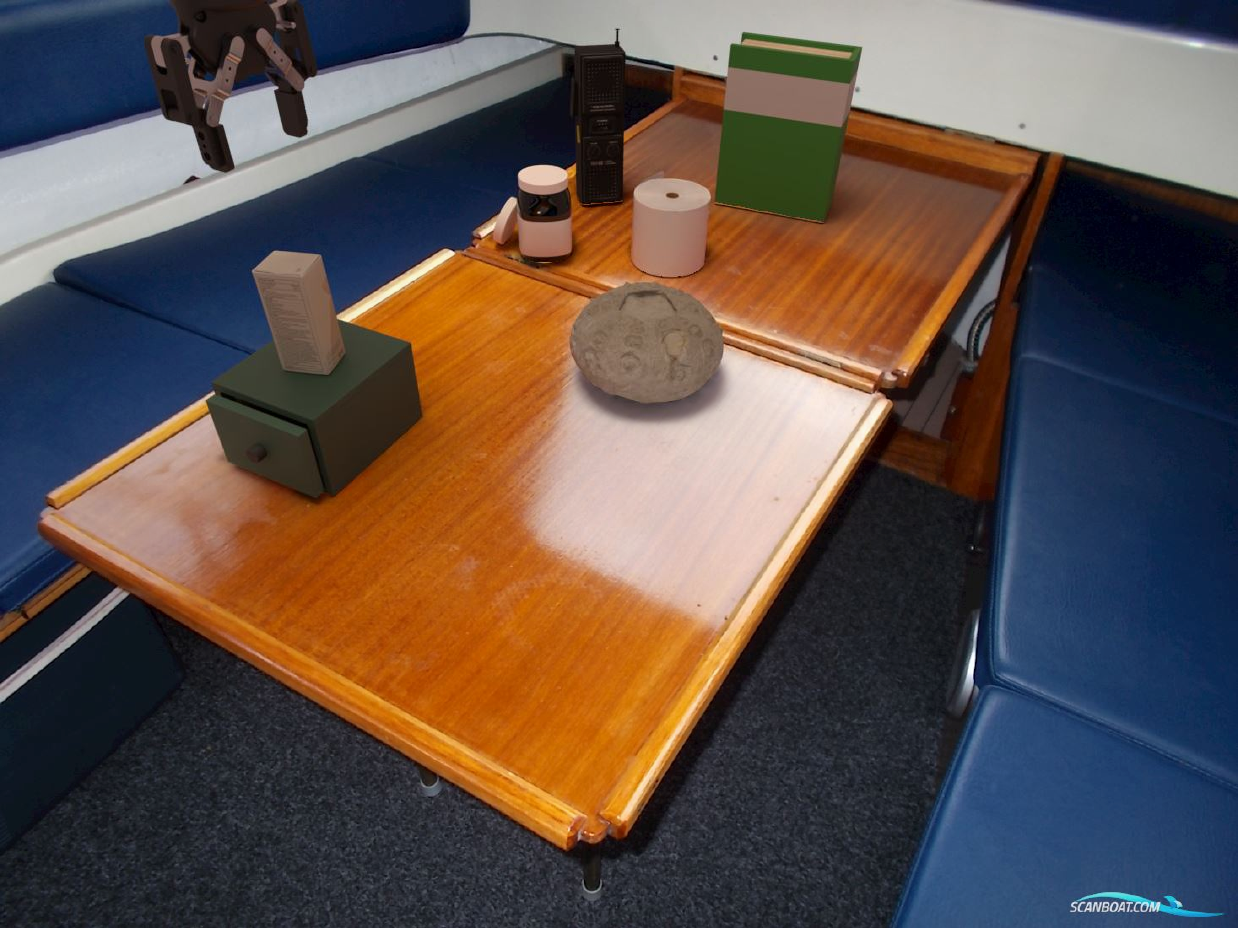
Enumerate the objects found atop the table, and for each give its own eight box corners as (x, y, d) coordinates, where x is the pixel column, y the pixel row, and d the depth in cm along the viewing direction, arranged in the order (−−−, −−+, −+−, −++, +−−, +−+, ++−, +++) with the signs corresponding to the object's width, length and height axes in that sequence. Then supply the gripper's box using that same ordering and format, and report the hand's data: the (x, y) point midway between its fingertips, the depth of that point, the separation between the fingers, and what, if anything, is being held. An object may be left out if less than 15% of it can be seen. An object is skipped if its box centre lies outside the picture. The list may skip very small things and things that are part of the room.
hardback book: (714, 204, 139) (730, 45, 123) (726, 187, 144) (743, 31, 128) (822, 224, 134) (854, 61, 119) (831, 205, 140) (862, 47, 124)
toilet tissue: (666, 286, 119) (670, 218, 112) (609, 253, 125) (610, 187, 119) (719, 263, 124) (727, 196, 118) (663, 233, 131) (666, 168, 124)
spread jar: (575, 268, 122) (574, 189, 114) (495, 272, 121) (489, 192, 113) (567, 229, 131) (566, 154, 123) (492, 232, 130) (486, 156, 122)
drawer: (307, 506, 84) (288, 443, 78) (218, 468, 87) (195, 407, 82) (401, 422, 94) (390, 362, 88) (318, 392, 97) (303, 332, 92)
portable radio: (576, 209, 136) (574, 39, 120) (568, 193, 141) (565, 27, 124) (624, 204, 138) (629, 36, 121) (615, 189, 142) (618, 25, 126)
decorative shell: (750, 379, 103) (761, 306, 96) (646, 444, 93) (650, 368, 87) (643, 320, 112) (646, 250, 105) (539, 374, 103) (535, 300, 96)
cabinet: (334, 497, 86) (313, 420, 79) (237, 457, 90) (210, 381, 84) (423, 416, 96) (411, 342, 89) (332, 384, 100) (314, 311, 94)
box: (347, 353, 88) (325, 254, 80) (328, 377, 85) (304, 276, 77) (299, 346, 88) (273, 248, 81) (278, 370, 85) (249, 269, 78)
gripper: (238, -92, 68) (286, 117, 79) (81, -61, 58) (160, 173, 69) (312, -81, 65) (351, 133, 76) (161, -48, 56) (230, 192, 66)
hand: (260, 151), depth 72 cm, fingers open, 8 cm apart
